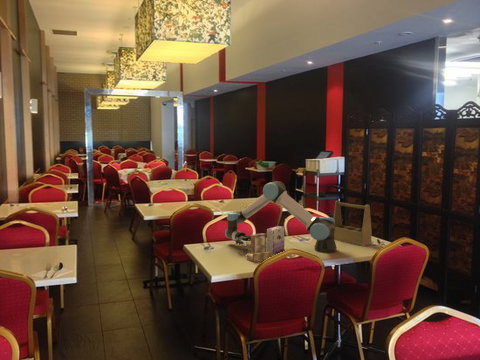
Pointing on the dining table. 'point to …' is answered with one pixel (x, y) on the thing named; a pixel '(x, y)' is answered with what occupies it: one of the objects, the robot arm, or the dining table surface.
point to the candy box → (275, 239)
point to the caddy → (351, 233)
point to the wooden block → (258, 243)
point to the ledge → (259, 256)
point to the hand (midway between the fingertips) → (255, 242)
